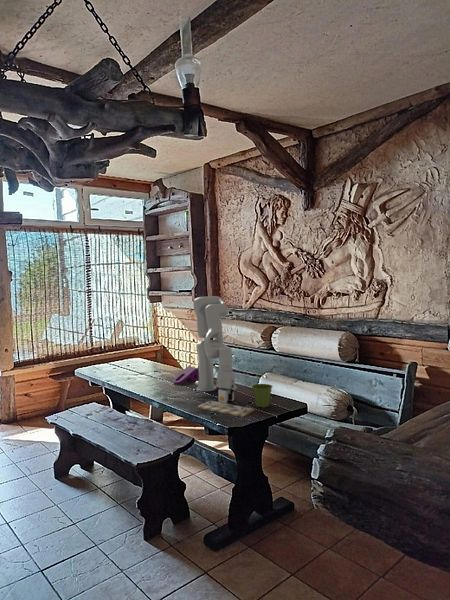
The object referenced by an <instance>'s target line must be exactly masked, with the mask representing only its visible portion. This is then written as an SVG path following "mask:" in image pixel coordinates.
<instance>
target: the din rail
mask: <svg viewBox="0 0 450 600" xmlns="http://www.w3.org/2000/svg"><path fill="white" fill-rule="evenodd" d="M211 401H212V400H209V401H206V402H205V401H204V403H205V405H209V406H214V407H220V408H225V409H230V410H235V411H240V412H245V411H247V408H248V407H247V408H243V407H244V406H241V407H238V406H239V405H236V406H232V405H233V404H231V405H227V404H228V403H227V404H222V403H217V402H218V401H215V402H211Z"/></svg>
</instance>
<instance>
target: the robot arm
mask: <svg viewBox="0 0 450 600" xmlns="http://www.w3.org/2000/svg"><path fill="white" fill-rule="evenodd" d="M192 304H193V311H194V313H195V316H196V324H197V325H196V326H197V327H196V328H197V329H196V330H197V335H198V337H199V338H200V339H204V340H201V341H198V342H197V344H196V353H197V359H198V372H199V380H198V381H196V382H194V385H197V387H196V390H197V391H200V392H212V391H215V390H216V389H217V390H220V389H222V388H224V389H228V391H229V394H228V401H230V400H232V393H233V392H234V393H235V391H237V389H238V387H237V386H236V382H235V381H236V380H235V375H234V374H235V373H234V371H233V360H232V359H233V357H232V356H233V354H232V353H233V350H232V348H231V347H229V346H228V345H227V344H224V336H223V334H224V333H223V324H222V319H221V318H225V317H227V316H228V315H229V309H228V306H227V304H226V302H225V301H224V300H223V299H222V298H221V296H218V295H214V296H213V295H212V296H210V295H209V296H199V297H196V298H195V299H194V300H193V303H192ZM213 359H218V365H217V368H218V370H217V374H216V383H215V382H214V381H215V380H214V379H215V377H214V376H215V375H214V362H213ZM214 383H215V384H214ZM232 388H233V389H232ZM230 402H231V401H230Z"/></svg>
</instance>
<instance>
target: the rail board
mask: <svg viewBox="0 0 450 600" xmlns="http://www.w3.org/2000/svg"><path fill="white" fill-rule="evenodd" d="M210 401H211V402H217V403H220V402H219V401H213V400H210ZM222 404H225V403H222ZM227 405H232V406H238V407H243V408H247V411H245V412H240V411H235V410H230V409H225V408H220V407H214V406H209V405H205V402H203V403H202V404H199V405H197V408H198V409H203V410H206V411H211V412H217V413H222V414H227V415H231V416H235V417H242V418H243V417H246V416H248V415H249V414H251V413H253V412H255V411H256V410H255V408H251V407H247V406H240V405H235V404H231V403H227Z"/></svg>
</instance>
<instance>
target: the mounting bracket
mask: <svg viewBox="0 0 450 600" xmlns="http://www.w3.org/2000/svg"><path fill="white" fill-rule="evenodd" d="M187 381H190V382H192V383H195V382H196V381H199V369H198V367H195V366H189V365H187V366H186V367H185V368H184V369H183V370H181V372H179V373H178V374H177V375H175V376H174V378H172V382H173V384H174V385H175V384H177V385H176V386H179V385H182V384H184V383H185V382H187Z"/></svg>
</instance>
